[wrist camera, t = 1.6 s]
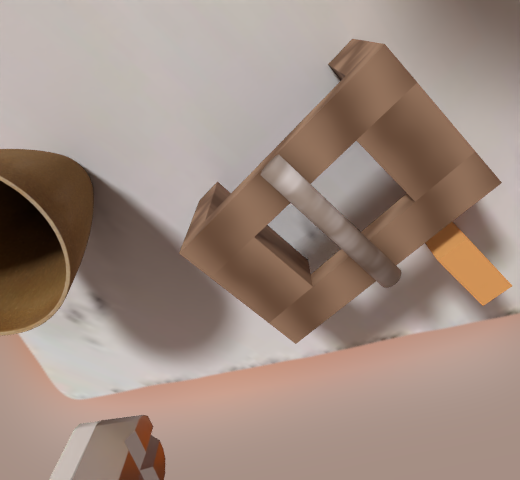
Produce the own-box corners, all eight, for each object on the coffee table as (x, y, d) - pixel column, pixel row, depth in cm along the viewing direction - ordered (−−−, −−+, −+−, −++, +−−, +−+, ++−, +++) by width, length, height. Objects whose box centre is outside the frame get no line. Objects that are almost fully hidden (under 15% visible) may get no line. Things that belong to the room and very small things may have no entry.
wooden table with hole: (352, 38, 39) (392, 45, 26) (443, 143, 43) (515, 191, 30) (199, 200, 46) (174, 265, 34) (289, 276, 50) (297, 358, 38)
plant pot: (112, 263, 50) (50, 358, 36) (-18, 218, 48) (-139, 300, 33) (146, 148, 44) (87, 208, 29) (-1, 90, 41) (-143, 124, 27)
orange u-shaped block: (400, 208, 46) (437, 260, 36) (422, 190, 45) (467, 238, 35) (437, 246, 48) (482, 305, 38) (459, 229, 47) (512, 286, 37)
